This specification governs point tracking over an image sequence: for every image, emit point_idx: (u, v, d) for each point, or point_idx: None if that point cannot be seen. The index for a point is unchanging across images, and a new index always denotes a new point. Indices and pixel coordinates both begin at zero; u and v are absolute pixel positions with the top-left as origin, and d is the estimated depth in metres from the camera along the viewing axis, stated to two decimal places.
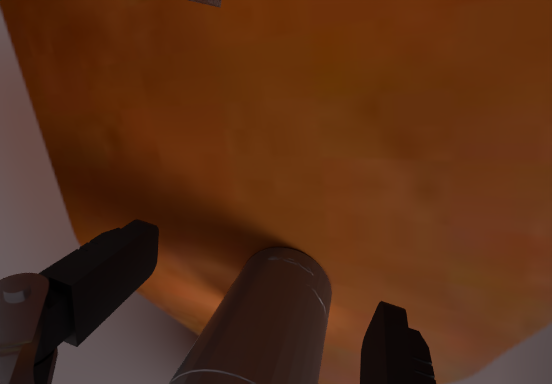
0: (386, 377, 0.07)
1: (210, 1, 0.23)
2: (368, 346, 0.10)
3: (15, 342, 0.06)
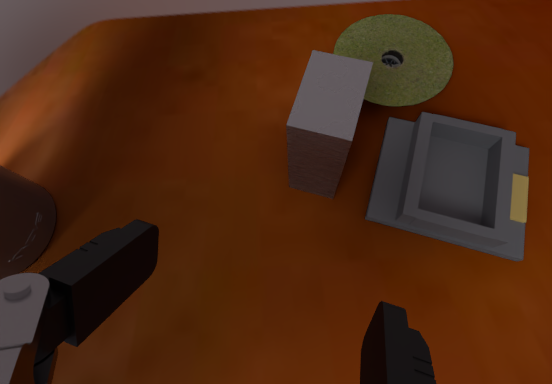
0: (387, 377, 0.07)
1: (289, 179, 0.27)
2: (368, 346, 0.10)
3: (15, 342, 0.06)
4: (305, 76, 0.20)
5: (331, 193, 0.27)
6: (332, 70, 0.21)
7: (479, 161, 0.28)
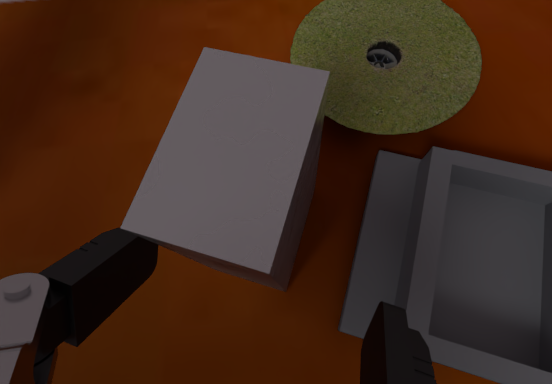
0: (387, 377, 0.07)
1: (208, 266, 0.16)
2: (368, 346, 0.10)
3: (15, 342, 0.06)
4: (180, 106, 0.09)
5: (280, 289, 0.16)
6: (239, 92, 0.09)
7: (530, 228, 0.16)
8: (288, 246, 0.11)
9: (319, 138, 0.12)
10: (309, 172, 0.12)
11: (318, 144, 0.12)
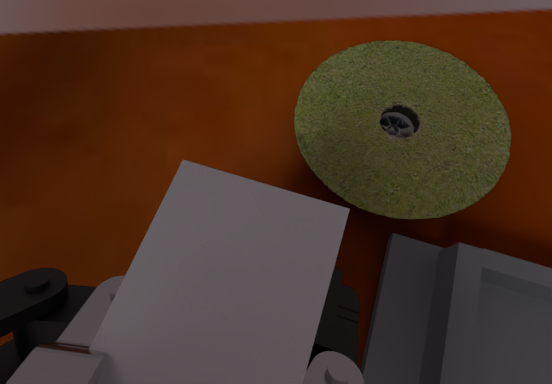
0: None
1: None
2: None
3: None
4: (144, 249, 0.07)
5: None
6: (226, 233, 0.07)
7: None
8: None
9: None
10: None
11: None
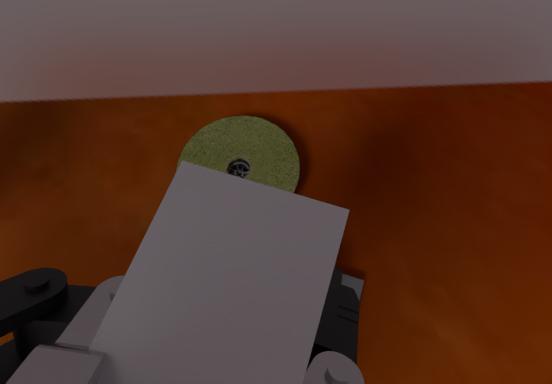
0: None
1: None
2: None
3: None
4: (143, 251, 0.07)
5: None
6: (226, 234, 0.07)
7: None
8: None
9: None
10: None
11: None
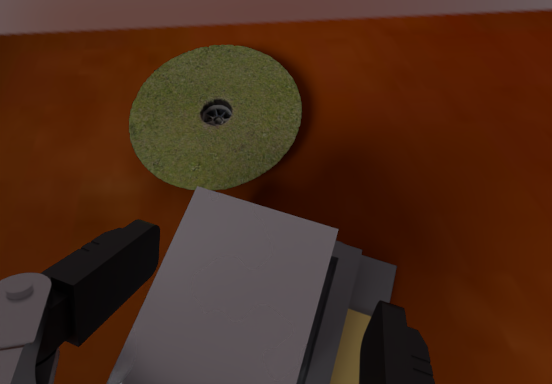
0: (384, 375, 0.07)
1: None
2: (367, 345, 0.10)
3: (17, 342, 0.06)
4: (166, 264, 0.08)
5: None
6: (235, 249, 0.08)
7: None
8: None
9: None
10: None
11: None
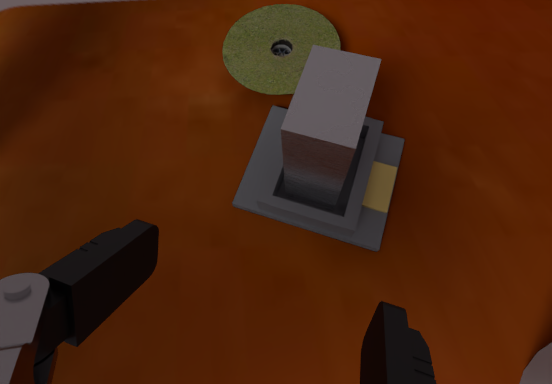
0: (386, 377, 0.07)
1: (286, 188, 0.24)
2: (368, 346, 0.10)
3: (15, 342, 0.06)
4: (304, 74, 0.18)
5: (332, 204, 0.24)
6: (334, 68, 0.18)
7: None
8: None
9: None
10: None
11: None
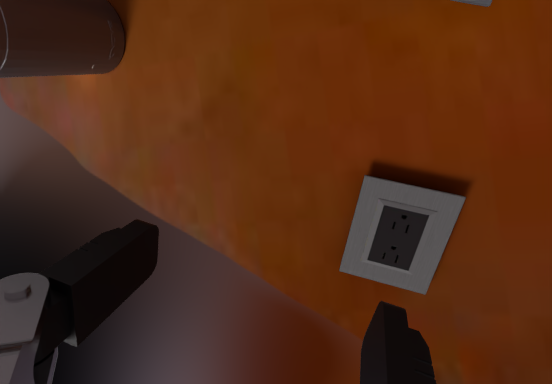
0: (387, 377, 0.07)
1: None
2: (368, 346, 0.10)
3: (15, 342, 0.06)
4: None
5: None
6: None
7: None
8: None
9: None
10: None
11: None
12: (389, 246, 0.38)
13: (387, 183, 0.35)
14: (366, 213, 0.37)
